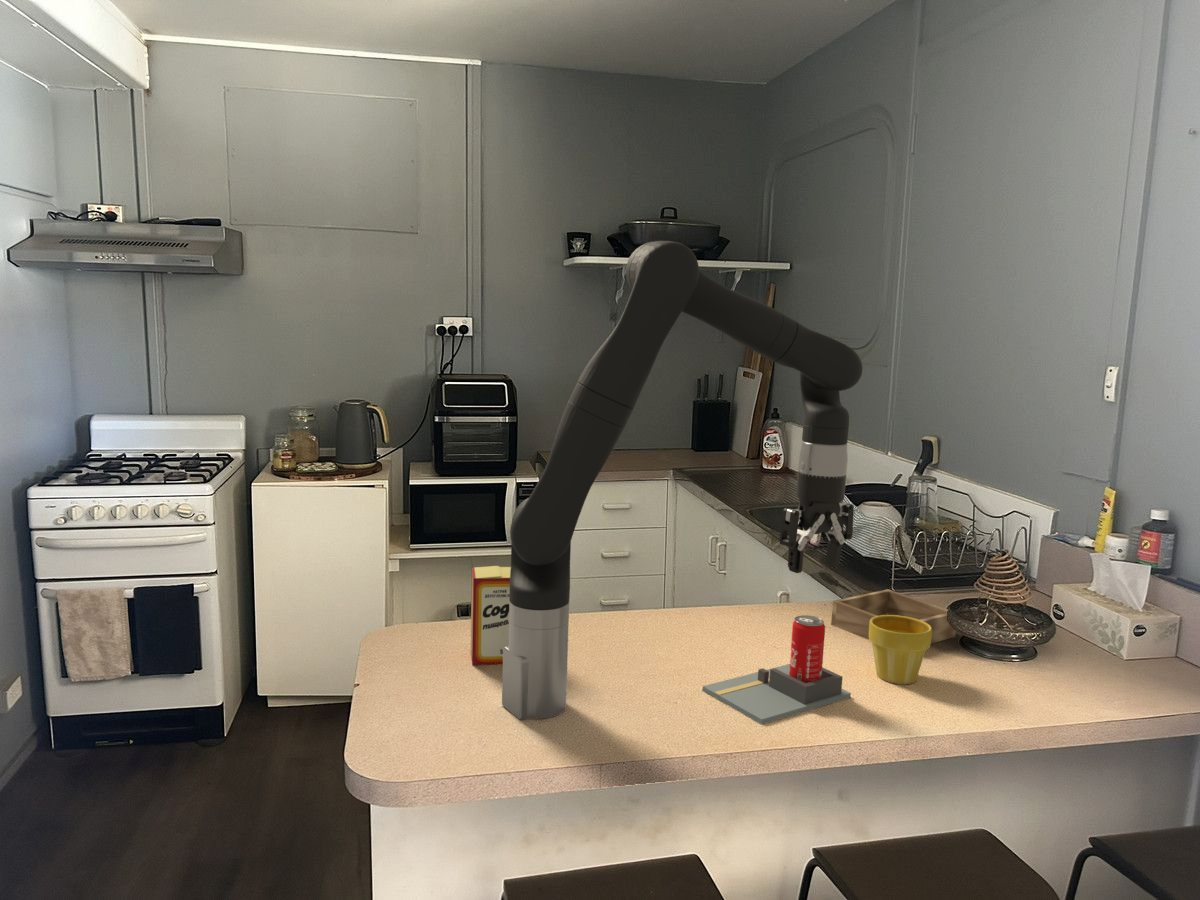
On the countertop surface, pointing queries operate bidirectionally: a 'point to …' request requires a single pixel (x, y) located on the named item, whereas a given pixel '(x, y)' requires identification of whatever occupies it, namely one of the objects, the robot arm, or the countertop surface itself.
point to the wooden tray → (862, 608)
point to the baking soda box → (489, 614)
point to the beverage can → (807, 648)
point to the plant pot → (899, 646)
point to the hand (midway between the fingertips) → (814, 568)
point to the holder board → (777, 693)
